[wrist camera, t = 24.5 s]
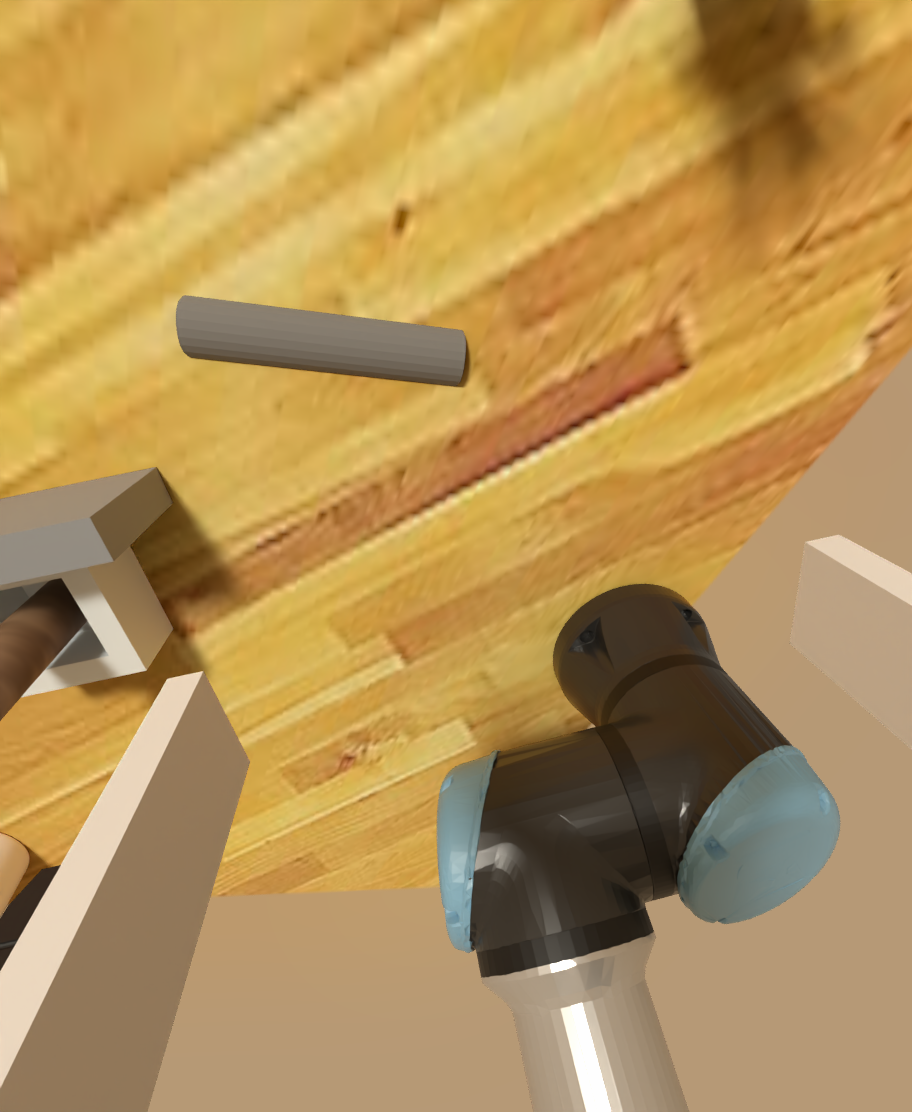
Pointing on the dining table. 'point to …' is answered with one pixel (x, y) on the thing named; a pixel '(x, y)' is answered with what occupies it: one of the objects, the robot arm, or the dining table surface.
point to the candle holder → (11, 867)
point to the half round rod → (319, 341)
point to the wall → (77, 524)
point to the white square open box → (100, 623)
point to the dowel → (35, 639)
